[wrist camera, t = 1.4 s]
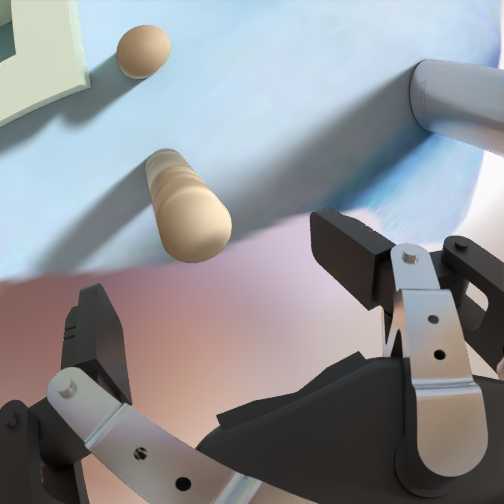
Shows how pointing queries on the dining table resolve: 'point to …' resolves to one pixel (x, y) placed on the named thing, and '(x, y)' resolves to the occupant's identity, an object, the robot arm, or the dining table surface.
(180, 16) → the dining table surface
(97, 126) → the dining table surface
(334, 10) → the dining table surface
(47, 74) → the hole block
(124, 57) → the short dowel
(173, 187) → the long dowel
